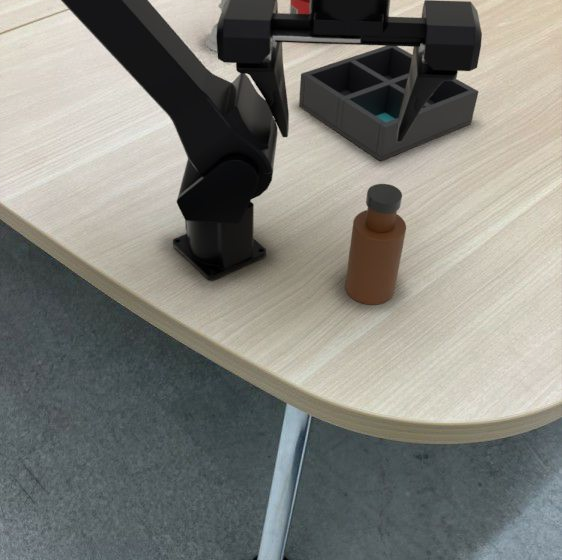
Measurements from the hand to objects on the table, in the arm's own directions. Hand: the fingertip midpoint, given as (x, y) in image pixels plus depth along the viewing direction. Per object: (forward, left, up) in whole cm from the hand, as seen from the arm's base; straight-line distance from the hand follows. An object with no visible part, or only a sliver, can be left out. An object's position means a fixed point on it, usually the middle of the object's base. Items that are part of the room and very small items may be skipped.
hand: (342, 137), depth 64 cm
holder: (+17, -22, -13) cm, 31 cm away
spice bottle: (-5, 0, -13) cm, 14 cm away
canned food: (+39, -30, -13) cm, 51 cm away
